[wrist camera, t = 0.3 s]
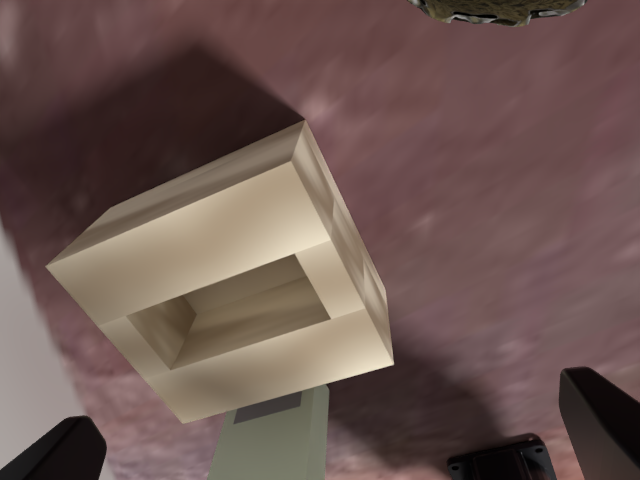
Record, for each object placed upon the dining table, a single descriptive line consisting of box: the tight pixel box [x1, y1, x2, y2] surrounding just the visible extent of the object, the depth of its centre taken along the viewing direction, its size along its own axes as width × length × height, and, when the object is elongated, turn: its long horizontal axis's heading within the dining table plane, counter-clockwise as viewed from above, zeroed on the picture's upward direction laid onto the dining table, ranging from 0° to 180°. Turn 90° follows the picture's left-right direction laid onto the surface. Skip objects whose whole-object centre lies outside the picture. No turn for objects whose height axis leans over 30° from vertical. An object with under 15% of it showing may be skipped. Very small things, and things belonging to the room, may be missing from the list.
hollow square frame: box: [45, 119, 394, 424], centre depth 21 cm, size 10×11×6 cm
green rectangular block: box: [207, 384, 329, 480], centre depth 25 cm, size 2×6×8 cm, turn 115°
